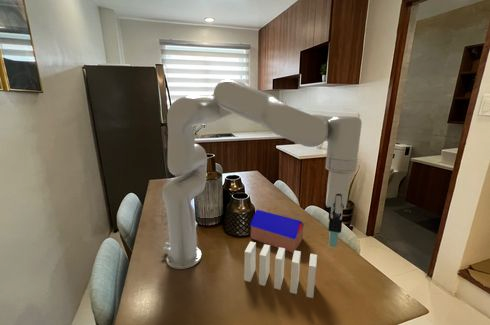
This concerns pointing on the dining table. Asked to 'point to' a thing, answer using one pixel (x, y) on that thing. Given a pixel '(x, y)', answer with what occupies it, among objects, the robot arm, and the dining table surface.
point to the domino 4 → (295, 272)
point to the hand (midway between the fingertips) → (334, 224)
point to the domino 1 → (250, 261)
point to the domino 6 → (333, 236)
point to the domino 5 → (311, 275)
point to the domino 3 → (279, 268)
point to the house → (276, 230)
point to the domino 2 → (264, 264)
